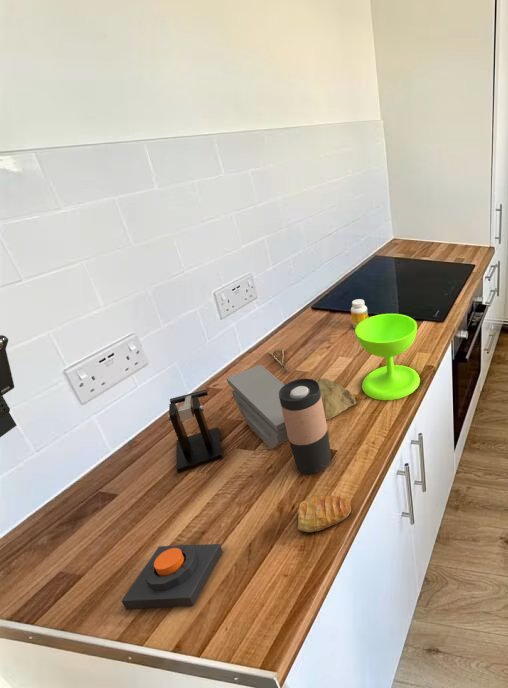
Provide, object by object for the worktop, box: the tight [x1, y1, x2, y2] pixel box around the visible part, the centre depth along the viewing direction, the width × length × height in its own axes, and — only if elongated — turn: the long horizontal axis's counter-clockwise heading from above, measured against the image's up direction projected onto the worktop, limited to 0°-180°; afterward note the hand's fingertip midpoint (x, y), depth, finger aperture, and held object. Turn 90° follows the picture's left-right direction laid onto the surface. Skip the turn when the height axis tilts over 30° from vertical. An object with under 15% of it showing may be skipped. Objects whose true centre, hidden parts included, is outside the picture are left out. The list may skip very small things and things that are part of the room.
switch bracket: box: [167, 397, 223, 474], centre depth 94 cm, size 10×8×13 cm
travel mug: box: [279, 378, 332, 475], centre depth 91 cm, size 8×8×20 cm
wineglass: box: [354, 313, 421, 401], centre depth 119 cm, size 16×16×18 cm
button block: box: [121, 543, 224, 610], centre depth 71 cm, size 10×9×4 cm
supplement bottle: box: [350, 298, 369, 330], centre depth 149 cm, size 5×5×10 cm
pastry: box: [297, 494, 352, 533], centre depth 83 cm, size 9×7×4 cm
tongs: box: [268, 347, 287, 373], centre depth 129 cm, size 4×13×2 cm, turn 40°
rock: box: [315, 377, 357, 421], centre depth 109 cm, size 11×9×10 cm
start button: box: [154, 548, 184, 576], centre depth 70 cm, size 4×4×2 cm
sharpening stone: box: [226, 364, 289, 450], centre depth 102 cm, size 25×8×11 cm, turn 51°
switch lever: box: [169, 389, 209, 422], centre depth 96 cm, size 13×7×2 cm, turn 34°
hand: (3, 431), depth 67 cm, fingers closed
